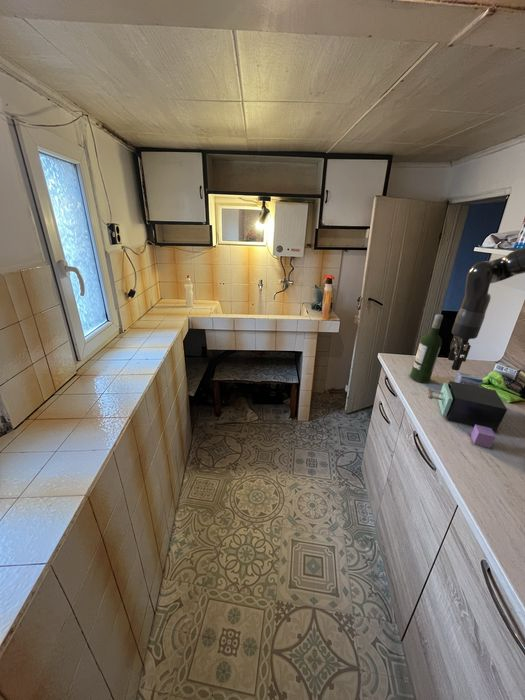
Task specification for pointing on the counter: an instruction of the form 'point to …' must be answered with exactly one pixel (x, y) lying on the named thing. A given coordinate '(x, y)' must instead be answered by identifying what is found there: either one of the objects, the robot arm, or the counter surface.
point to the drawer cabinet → (476, 406)
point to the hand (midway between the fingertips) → (452, 364)
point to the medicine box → (469, 379)
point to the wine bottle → (427, 353)
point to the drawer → (443, 398)
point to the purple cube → (483, 436)
